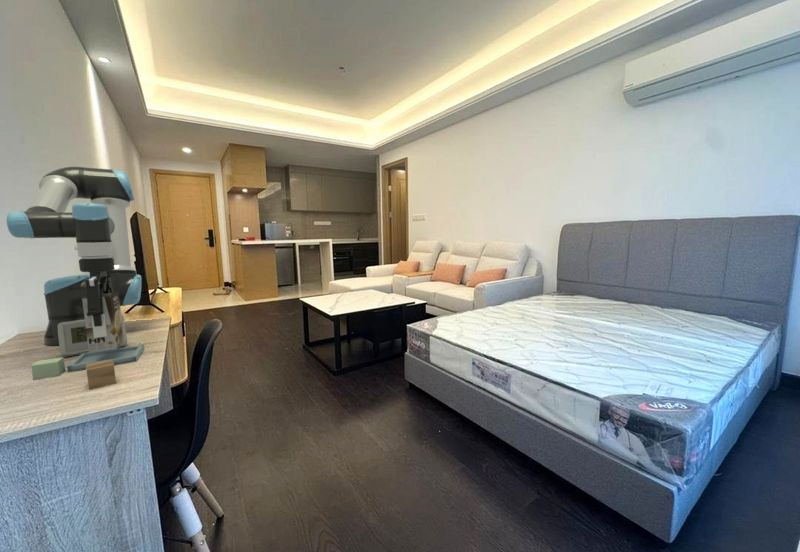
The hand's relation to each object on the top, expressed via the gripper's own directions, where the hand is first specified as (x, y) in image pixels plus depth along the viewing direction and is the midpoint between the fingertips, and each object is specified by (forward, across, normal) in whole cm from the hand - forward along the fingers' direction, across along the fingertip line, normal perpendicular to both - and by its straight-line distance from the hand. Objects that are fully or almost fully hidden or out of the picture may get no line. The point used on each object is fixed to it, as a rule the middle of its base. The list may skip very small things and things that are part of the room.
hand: (105, 332), depth 98 cm
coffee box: (+5, 0, 0) cm, 5 cm away
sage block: (+9, +6, -11) cm, 15 cm away
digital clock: (+9, -14, -6) cm, 17 cm away
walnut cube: (+9, +20, +3) cm, 22 cm away
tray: (+9, 0, 0) cm, 9 cm away
